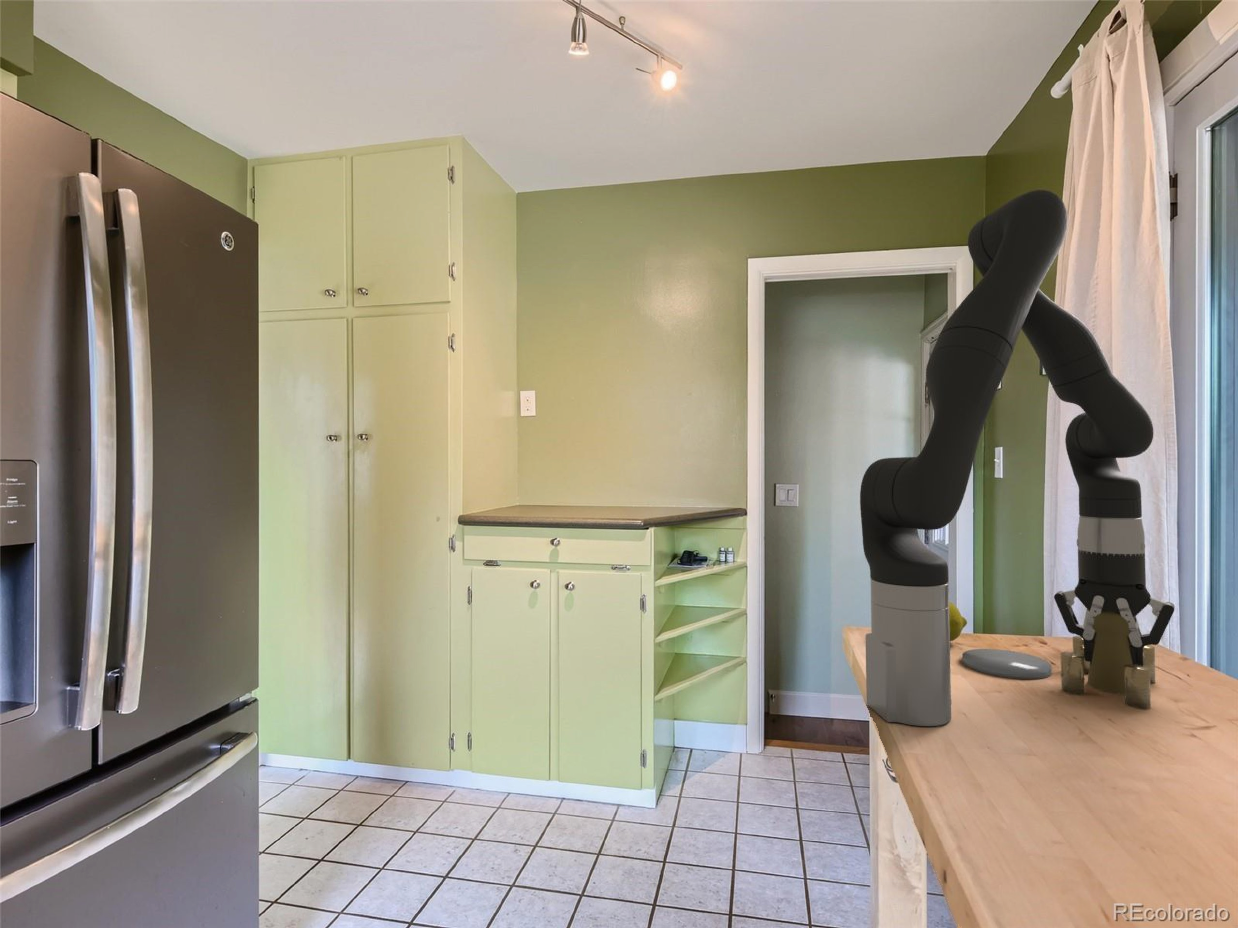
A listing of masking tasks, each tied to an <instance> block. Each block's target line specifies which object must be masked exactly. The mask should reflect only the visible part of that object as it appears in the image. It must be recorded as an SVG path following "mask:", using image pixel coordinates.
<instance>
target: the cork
mask: <svg viewBox="0 0 1238 928" xmlns="http://www.w3.org/2000/svg"><path fill="white" fill-rule="evenodd" d="M1093 618H1094V624H1093V625H1092V628H1093V629H1094V630H1095V634H1094V642H1095V644H1094V651H1093V657H1092V664H1091V666H1090V667H1089V674H1087V675H1088V676H1087V683H1086V685H1088V686H1089V687H1091V688H1093V689H1095V690H1098V691H1100V692H1101V691H1102V692H1107V693H1110V694H1116V695H1124V696H1125V682H1124V665H1126V664H1133V663H1132V659H1131V654H1130V649H1129V647H1130V646H1131V641H1130V638H1129V634H1130V633H1131V630H1130V629H1129V624H1128V622H1130V621H1128V622H1127V620H1125V619H1124V618H1123V617H1122V616H1121V614H1120V613H1115V612H1106V611H1102V612H1101V613H1100V614H1098V615H1097V616H1096V617H1093ZM1134 621H1135V620H1134Z"/></svg>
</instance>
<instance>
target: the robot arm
mask: <svg viewBox="0 0 1238 928" xmlns="http://www.w3.org/2000/svg"><path fill="white" fill-rule="evenodd" d="M1068 218H1069V216H1068V211H1067V208H1066V205H1065V203H1064V201H1063V200H1062V199H1061V197H1060V196H1059V195H1058V194H1056V193H1055V192H1052V191H1050V190H1046V189H1036V190H1031V191H1028V192H1025V193H1023V194H1021V195H1018V196H1016V197H1014V198H1013V199H1011V200H1009V201H1008V202H1007V203H1004V204H1003V205H1001V206H1000V207H999V208H996V209H995V210H994V211H992V212H990V213H989V214H987V215H986V216H984V217H983V218H982V219H980V220H979V221H977V222H976V223H975V224H974V225H973V226H972V228H971V229H970V231H969V234H968V237H967V248H968V252H969V255H970V258H971V260H972V262H973V264H974V265H975V267H976V268H977V270H978V272H979V273H980V275H981V276H982V278H981V279H980V281H979V282H978V283H977V284H976V285H975V286H974V287H973V289H972V290H971V291H970V292H969V293H968V294H967V295H966V296H965V298H964V299H963V301H961V303H960V304H959V305H958V306H957V308H956V309H954V311H953V313H952V314H951V315H950V317H949V318H948V319H947V320H946V322H945V324H944V325H943V327H942V329H941V330H940V333H939V335H938V337H937V339H936V342H935V344H934V346H933V348H932V351H931V353H930V356H929V359H928V361H927V364H926V369H925V380H926V387H927V391H928V394H929V397H930V401H931V406H932V408H933V420H932V425H931V428H930V432H929V433H928V436H927V439H926V441H925V443H924V446H923V447H922V449H921V451H920V453H918V455H917V456H908V457H907V456H905V457H903V456H899V457H886V458H885V457H884V458H881V459H878V460H875V461H874V462H872V463H871V464H870V465H869V466H868V468H866V470H865V472H864V473H863V477H862V481H861V482H860V483H861V484H860V490H859V491H860V492H859V507H860V508H859V509H860V519H861V520H860V521H861V522H860V523H861V532H862V545H863V546H862V547H863V553H864V556H865V559H866V562H867V563H868V566H869V574H870V575H869V577H870V609H871V610H870V613H871V614H870V617H871V618H870V620H871V621H870V624H871V632H869V633H866V634H865V637H864V638H865V639H864V640H865V681H866V682H865V684H866V685H865V688H866V690H865V691H866V704H867V706H868V707H870V708H871V709H872V710H873V711H874V712H876V714H878V715H879V716H880V717H881V718H882V719H883V720H885V721H886V722H888V723H900V724H905V725H908V726H909V725H911V726H916V727H917V726H919V727H934V726H935V727H936V726H942V725H946V724H947V723H949V722H950V721H951V720H952V689H951V688H952V686H951V681H952V680H951V677H952V676H951V645H950V644H951V641H950V629H949V602H950V596H949V595H950V588H949V587H950V586H949V584H950V583H949V567H948V566H949V565H948V563H947V561H946V559H945V558H943V556H940V555H938V554H936V553H935V552H934V551H932V550H931V549H930V548H928V547H927V546H926V545H925V544H924V542H923V541H922V540H921V538H920V534H919V531H918V530H924V531H925V530H927V531H932V530H934V531H935V530H939V529H942V528H944V527H946V526H948V525H949V523H951V522H952V521H953V519H954V518H955V516H957V514H958V511H959V510H960V508H961V505H962V502H963V500H964V497H965V494H966V490H967V487H968V483H969V480H970V476H971V473H972V472H971V471H972V467H973V466H974V465H973V464H974V461H975V460H974V459H975V456H976V453H977V450H978V446H979V441H980V438H981V435H982V432H983V429H984V426H985V423H986V421H987V418H988V415H989V413H990V410H991V407H992V404H993V401H994V399H995V396H996V394H997V391H998V389H999V387H1000V384H1001V382H1002V380H1003V378H1004V376H1005V373H1006V370H1007V369H1008V366H1009V364H1010V361H1011V357H1012V355H1013V353H1014V352H1013V351H1014V350H1015V346H1016V343H1017V341H1018V338H1019V336H1020V332H1021V331H1022V332H1023V335H1024V336H1025V337H1026V338H1027V340H1028V342H1029V344H1030V345H1031V347H1032V349H1033V350H1034V352H1035V353H1036V355H1037V357H1038V359H1039V362H1040V364H1041V367H1042V368H1043V370H1044V372H1045V374H1046V377H1047V379H1048V380H1049V381H1048V382H1049V383H1050V385H1051V386H1052V389H1053V391H1054V393H1055V395H1056V396H1057V397H1058V398H1059V400H1061V401H1062V402H1065V403H1070V404H1074V405H1077V406H1079V407H1080V409H1082V410H1083V412H1082V413H1080V414H1078V415H1076V416H1075V417H1074V418H1073V419H1072V420H1071V421H1070V423H1069V424H1068V426H1067V428H1066V432H1065V449H1066V454H1067V457H1068V461H1069V463H1070V467H1071V469H1072V473H1073V476H1074V479H1075V481H1076V483H1077V486H1078V515H1079V517H1078V525H1077V539H1076V546H1077V563H1078V565H1077V567H1078V569H1077V571H1078V574H1077V575H1078V583H1077V584H1076V586H1075V587H1074V589H1072V590H1067V591H1062V590H1059V591H1058V592H1056V593H1055V594H1054V596H1053V598H1054V601H1055V604H1056V606H1057V608H1058V610H1059V612H1060V615H1061V618H1062V619H1063V622H1064V624H1065V626H1066V629H1067V631H1068V632H1069V633H1070V634H1072V635H1076V636H1081V637H1082V638H1083V640H1084V658H1085V660H1086V661H1088V662H1090V666H1091V664H1092V657H1093V651H1094V644H1095V642H1094V634H1095V630H1094V629H1093V628H1092V625H1093V624H1094V618H1093V617H1096V616H1097V615H1098V614H1100V613H1101V612H1102V611H1106V612H1115V613H1120V614H1121V616H1122V617H1123V618H1124V619H1125V620H1127V622H1128V621H1130V622H1128V624H1129V629H1130V630H1131V633H1130V634H1129V638H1130V641H1131V646H1130V647H1129V649H1130V654H1131V659H1132V663H1133V664H1134V665H1141V666H1143V665H1144V658H1143V647H1144V646H1146V645H1150V646H1154V645H1155V646H1156V645H1159V643H1160V642H1161V640H1162V637H1163V635H1164V634H1165V631H1166V629H1167V627H1168V625H1169V623H1170V622H1171V619H1172V617H1173V615H1174V612H1175V607H1176V606H1175V604H1174V603H1173V602H1171V601H1166V602H1165V601H1162V600H1159V599H1156V598H1154V597H1152V595H1151V594H1150V592H1149V591H1148V589H1147V586H1146V585H1147V581H1146V580H1147V579H1146V578H1147V577H1146V539H1145V538H1146V537H1145V530H1144V529H1145V528H1144V525H1143V517H1142V516H1143V515H1142V513H1143V509H1142V506H1143V505H1142V489H1141V484H1140V482H1139V481H1138V479H1137V478H1135V477H1132V476H1130V475H1127V474H1124V473H1122V471H1121V469H1120V467H1119V463H1118V460H1117V459H1124V458H1125V459H1127V458H1133V457H1137V456H1140V455H1141V454H1143V453H1145V452H1146V451H1147V450H1148V449H1149V448H1150V447H1151V445H1152V442H1153V440H1154V426H1153V425H1154V424H1153V420H1152V419H1151V416H1150V415H1149V413H1148V412H1147V409H1145V408H1144V406H1143V405H1142V404H1141V402H1140V401H1139V400H1138V399H1137V398H1136V396H1134V394H1132V392H1130V390H1129V389H1128V388H1127V387H1126V386H1125V385H1124V383H1122V381H1120V380H1119V378H1118V377H1116V375H1115V374H1114V373H1113V370H1112V368H1111V366H1110V364H1109V362H1108V360H1107V358H1106V356H1105V353H1104V351H1103V349H1102V347H1101V345H1100V343H1099V341H1098V340H1097V338H1096V336H1095V334H1094V333H1093V332H1092V331H1091V330H1090V328H1089V327H1088V326H1087V325H1086V324H1085V323H1084V322H1083V321H1082V320H1080V319H1079V318H1078V317H1077V316H1075V315H1073V314H1072V313H1071V312H1069V311H1068V310H1066V309H1065V308H1063V307H1062V306H1060V305H1059V304H1057V303H1056V302H1055V301H1053V300H1052V299H1050V298H1049V297H1048V296H1047V295H1046V294H1044V292H1043V291H1042V290H1041V289H1040V286H1041V285H1042V283H1043V281H1044V279H1045V277H1046V275H1047V273H1048V271H1049V270H1050V268H1051V266H1052V265H1053V263H1054V261H1055V259H1056V257H1057V256H1058V254H1059V252H1060V250H1061V248H1062V246H1063V244H1064V242H1065V239H1066V236H1067V232H1068V227H1069V226H1068V225H1069V219H1068ZM1075 598H1077V599H1078V600H1079V601H1080V602H1081V604H1082V606H1084V607H1085V609H1086V610H1088V611H1089V616H1088V619H1087V622H1086V626H1085V627H1084V626H1083V625H1081V624H1080V623H1079V621H1078V618H1077V616H1076V614H1075V612H1074V609H1073V606H1074V604H1075V601H1076V600H1075ZM1147 606H1150V607H1151V608H1152V609H1151V613H1152V615H1154V616H1155V617H1156V619H1155V621H1154V623H1153V625H1152V628H1151V630H1150V631H1149V633H1145V634H1142V631H1141V628H1140V626H1139V625H1140V624H1139V622H1138V619H1137V616H1138V615H1139V613H1141V612H1142V611H1143V609H1145V608H1146V607H1147ZM1134 620H1135V621H1134Z"/></svg>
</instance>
